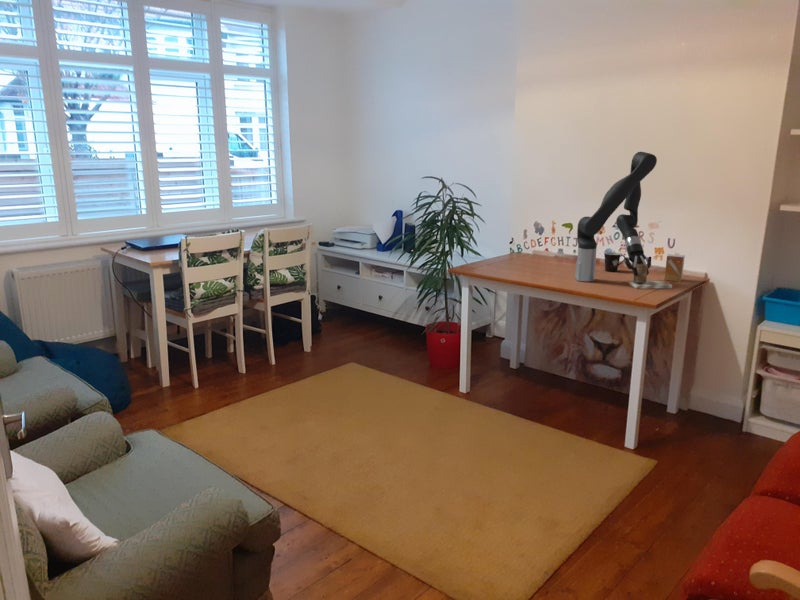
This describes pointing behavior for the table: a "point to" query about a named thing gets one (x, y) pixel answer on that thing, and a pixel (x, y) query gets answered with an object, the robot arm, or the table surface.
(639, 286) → the board
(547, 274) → the table surface
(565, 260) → the table surface
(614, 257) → the coffee mug
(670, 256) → the small box
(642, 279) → the block
